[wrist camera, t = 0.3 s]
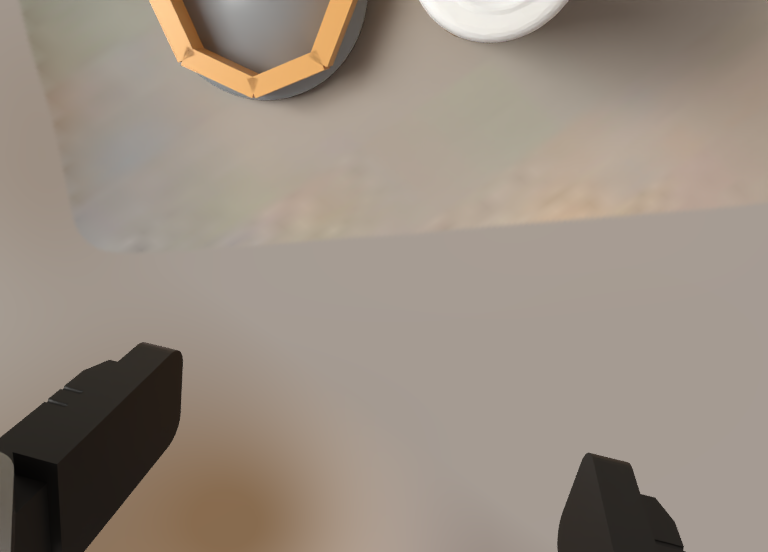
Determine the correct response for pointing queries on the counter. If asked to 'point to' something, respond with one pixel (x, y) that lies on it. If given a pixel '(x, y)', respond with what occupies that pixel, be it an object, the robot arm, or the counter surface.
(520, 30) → the spice jar
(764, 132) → the counter surface
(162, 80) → the counter surface
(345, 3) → the orange rimmed grey dish
